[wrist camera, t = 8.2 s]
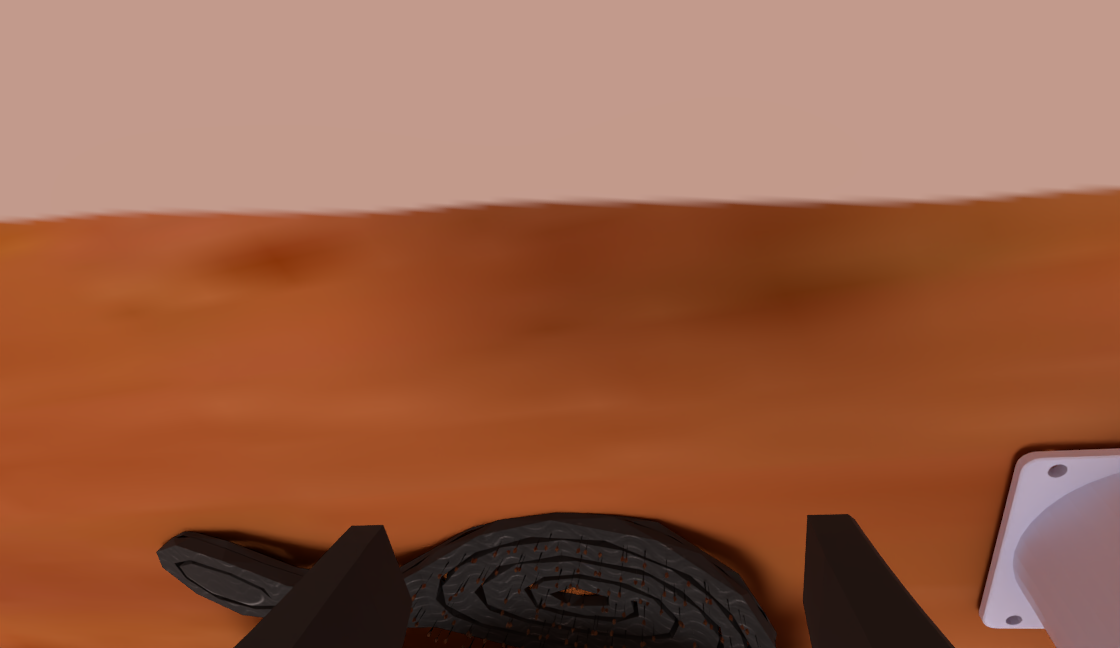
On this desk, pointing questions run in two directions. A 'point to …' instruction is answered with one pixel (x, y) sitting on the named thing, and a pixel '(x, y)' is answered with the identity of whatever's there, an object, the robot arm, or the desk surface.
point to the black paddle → (514, 564)
